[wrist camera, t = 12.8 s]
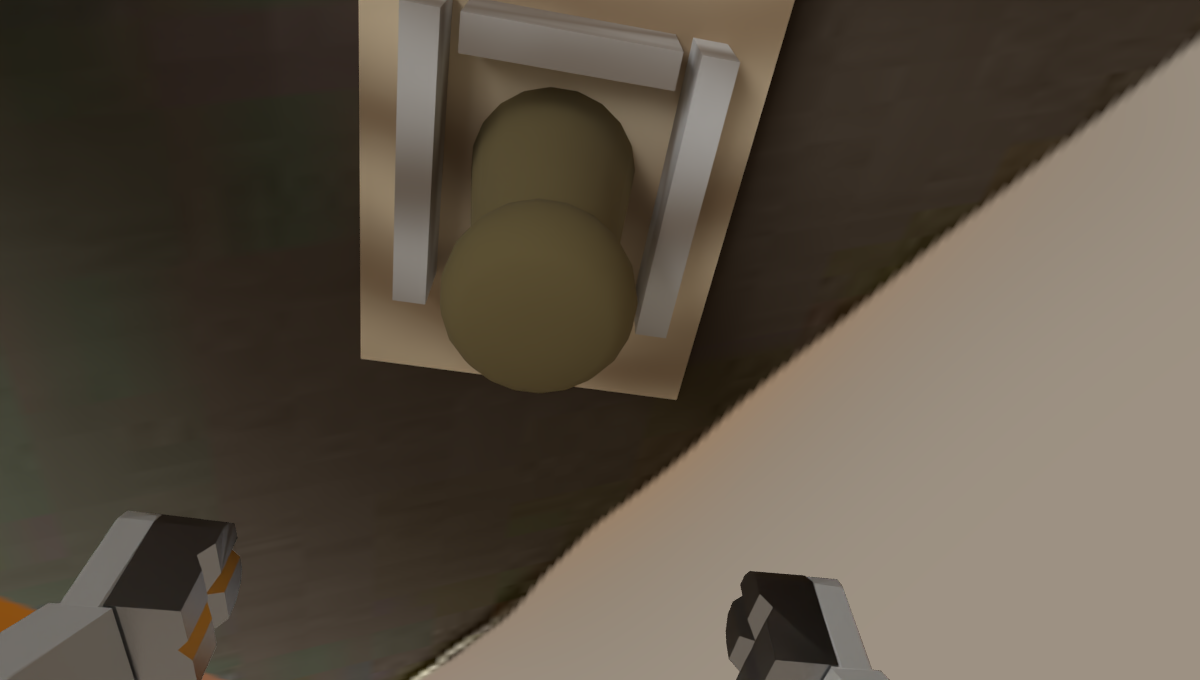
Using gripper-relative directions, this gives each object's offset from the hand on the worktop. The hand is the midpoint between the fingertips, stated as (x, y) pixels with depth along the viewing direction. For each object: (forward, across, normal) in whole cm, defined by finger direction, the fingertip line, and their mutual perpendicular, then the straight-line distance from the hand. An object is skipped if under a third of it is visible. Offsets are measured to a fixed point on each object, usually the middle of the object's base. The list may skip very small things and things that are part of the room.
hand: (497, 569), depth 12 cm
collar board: (+20, 0, 0) cm, 20 cm away
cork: (+18, 0, 0) cm, 19 cm away
